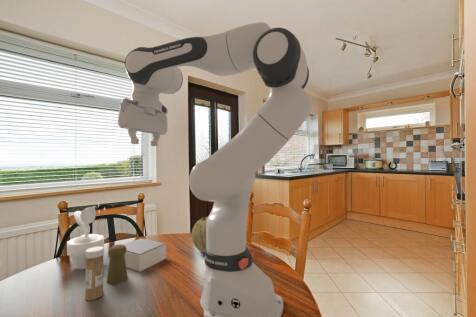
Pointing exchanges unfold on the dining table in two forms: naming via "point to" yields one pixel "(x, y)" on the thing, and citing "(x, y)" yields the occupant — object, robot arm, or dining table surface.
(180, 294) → the dining table surface
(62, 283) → the dining table surface
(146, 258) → the white lidded box
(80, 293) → the dining table surface
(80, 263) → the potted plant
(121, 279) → the brown tapered cylinder
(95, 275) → the sprinkles bottle
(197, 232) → the cantaloupe
